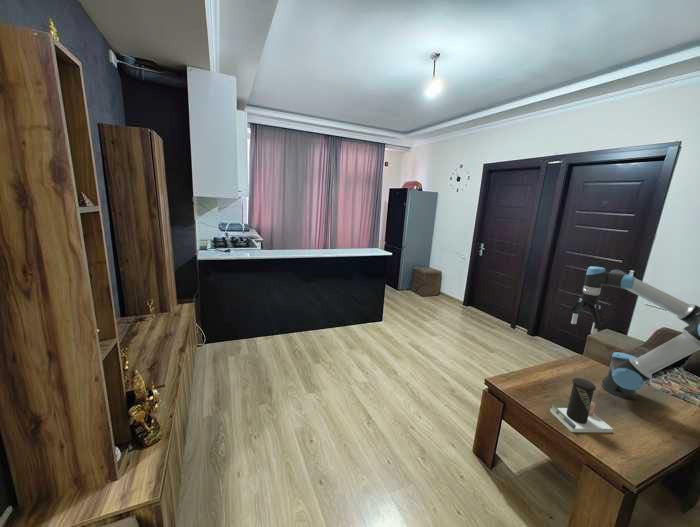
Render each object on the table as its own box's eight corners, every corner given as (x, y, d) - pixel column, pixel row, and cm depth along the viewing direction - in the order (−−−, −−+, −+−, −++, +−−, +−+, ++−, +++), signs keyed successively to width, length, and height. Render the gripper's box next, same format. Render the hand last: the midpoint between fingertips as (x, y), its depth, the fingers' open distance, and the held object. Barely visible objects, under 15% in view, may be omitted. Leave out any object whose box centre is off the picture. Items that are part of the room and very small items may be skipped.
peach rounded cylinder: (587, 408, 147) (589, 398, 146) (595, 415, 142) (598, 405, 141) (578, 408, 147) (580, 398, 146) (586, 415, 142) (588, 405, 141)
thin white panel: (586, 411, 148) (587, 405, 147) (611, 432, 134) (613, 425, 134) (549, 411, 147) (550, 404, 146) (571, 432, 133) (573, 425, 133)
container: (576, 424, 136) (584, 387, 132) (560, 411, 144) (568, 376, 141) (592, 424, 136) (601, 387, 133) (576, 411, 145) (584, 376, 141)
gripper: (567, 287, 172) (560, 320, 176) (605, 300, 148) (596, 338, 152) (578, 287, 173) (571, 320, 177) (618, 300, 148) (609, 338, 152)
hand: (583, 328), depth 164 cm, fingers open, 13 cm apart
